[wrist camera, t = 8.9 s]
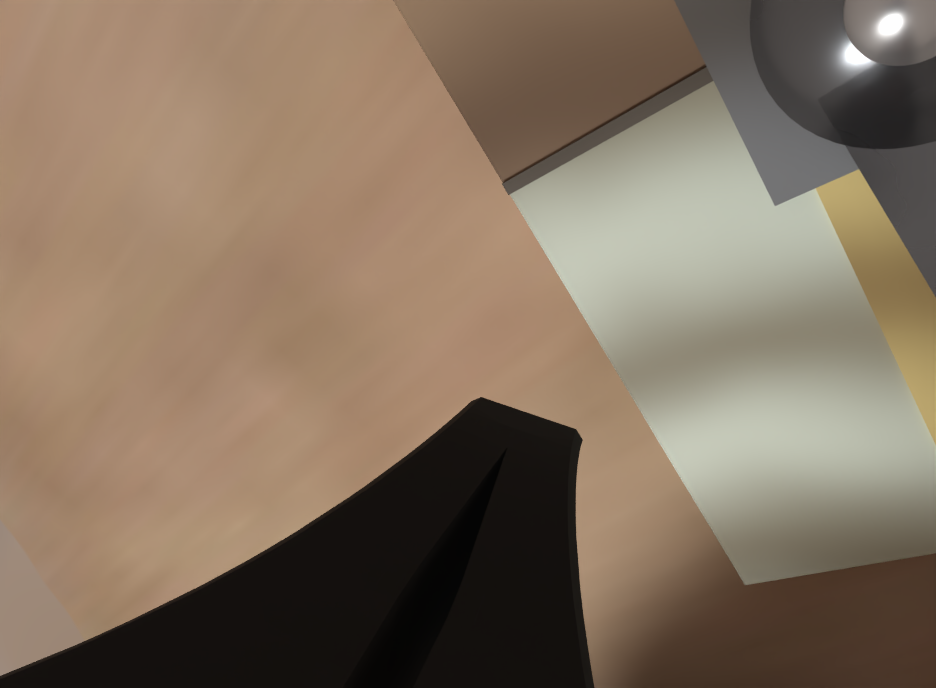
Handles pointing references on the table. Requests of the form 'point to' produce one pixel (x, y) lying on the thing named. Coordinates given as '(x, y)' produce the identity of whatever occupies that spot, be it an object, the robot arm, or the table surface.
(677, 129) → the door board
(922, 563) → the table surface
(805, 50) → the latch bar
